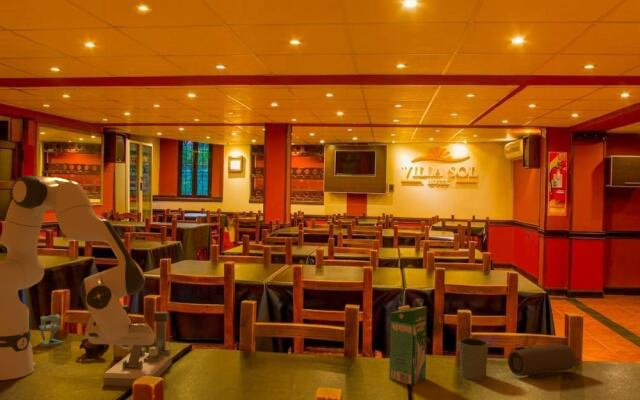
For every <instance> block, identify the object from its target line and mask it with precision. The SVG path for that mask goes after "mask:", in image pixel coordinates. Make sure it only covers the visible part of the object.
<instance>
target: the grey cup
mask: <svg viewBox="0 0 640 400" xmlns="http://www.w3.org/2000/svg"><path fill="white" fill-rule="evenodd" d="M489 346H490V345H489V341H487V340H485V339H481V338H475V337H464V338H460V339H459V340H458V350H459V351H458V352H459V361H460V362H459V363H460V364H459V365H460V368H459V369H460V370H459V372H460V377H462V378H464V379H467V380H470V381H482V380H485V379H486V378H487V363H488V352H489Z"/></svg>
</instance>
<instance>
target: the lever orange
mask: <svg viewBox="0 0 640 400" xmlns="http://www.w3.org/2000/svg"><path fill="white" fill-rule="evenodd" d="M135 324H146V325H148V326H149V327H150V328H151V325H150V323H147V322H146V323H144V322H135ZM143 346H144V345H133V348H132V350H131V354H130V358H129V362H128V363H126V368H136V369H138V368H139V359H140V355H141V351H142V348H144V347H143Z"/></svg>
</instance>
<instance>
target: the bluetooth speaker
mask: <svg viewBox="0 0 640 400" xmlns="http://www.w3.org/2000/svg"><path fill="white" fill-rule="evenodd" d="M507 364H508V368H509V370H510V371H511V373H512V374H513V375H515V376H517V377H526V376H527V377H529V378H534V379H537V378H544V377H545V378H546V377H551V376H555V373H559V372H562V371H567V370H570V369H572V368H574V367H575V365H576V355H575V353H574V350H573V349H572V348H571V347H570V346H568V345H565V344H554V345H553V344H552V345H542V346H534V347H527V348H520V349H516V350H513V351H511V352H510V353H509V355H508V359H507Z"/></svg>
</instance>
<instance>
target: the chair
mask: <svg viewBox="0 0 640 400" xmlns="http://www.w3.org/2000/svg"><path fill="white" fill-rule="evenodd" d="M39 319H40V325H39V327H38V328H39V331H40V335H41V338H42V342H41V348H45V347H51V346H52V347H53V346H58V345H59V346H60V345H62V344H63V341H62V340H58V339H55V338H54V336H55V334H56V331H57V330H59V329H61V325H59V321H60V319H61V316H60V314H57V313H55V314H50V315H47V316H45V315H42V316H40V318H39ZM50 321H53V323H51V324H46V323H47V322H50ZM50 330H53V331H52V332H51V335H50V337H49V342H51V341H53V342H51V343H49V342H48V343H46V337H45V334H44V332H46V331H50Z"/></svg>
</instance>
